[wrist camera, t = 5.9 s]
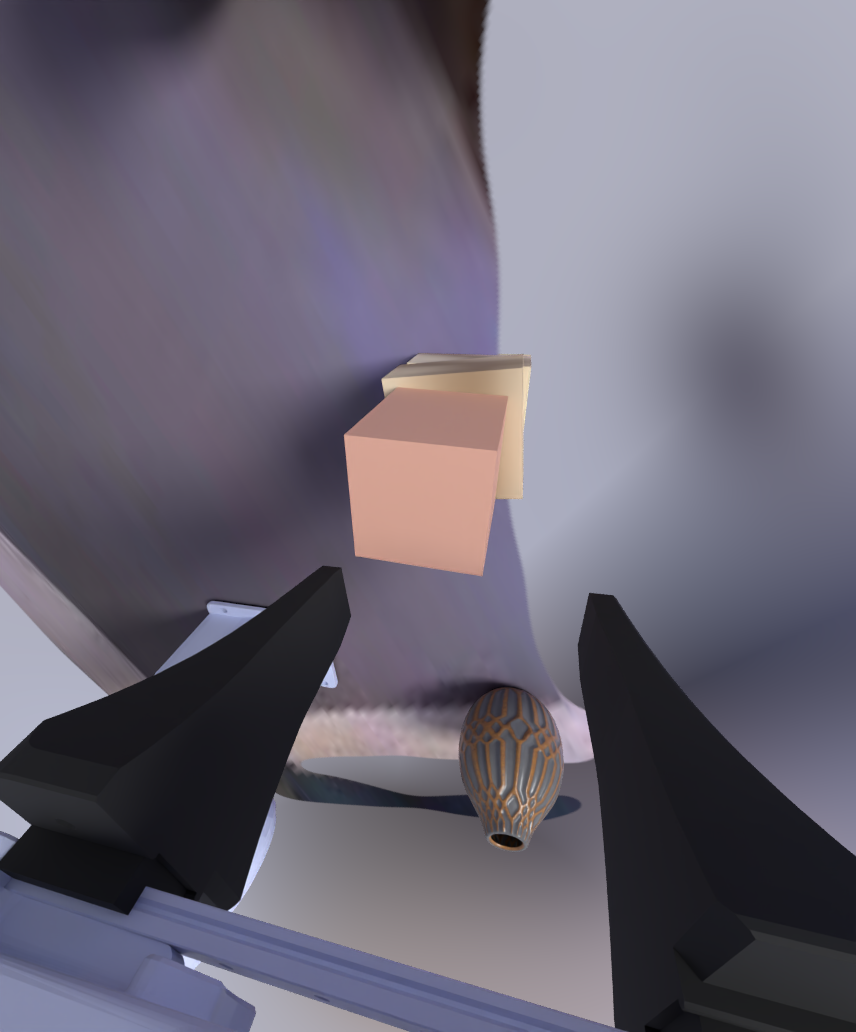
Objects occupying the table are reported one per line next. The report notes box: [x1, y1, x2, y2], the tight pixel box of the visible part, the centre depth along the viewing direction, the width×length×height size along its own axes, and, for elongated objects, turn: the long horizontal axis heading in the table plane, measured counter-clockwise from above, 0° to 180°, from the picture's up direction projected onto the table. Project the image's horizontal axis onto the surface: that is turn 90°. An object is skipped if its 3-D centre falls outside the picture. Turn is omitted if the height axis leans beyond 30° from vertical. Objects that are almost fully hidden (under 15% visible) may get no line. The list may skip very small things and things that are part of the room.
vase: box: [459, 687, 564, 852], centre depth 27 cm, size 7×7×9 cm
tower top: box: [382, 354, 523, 499], centre depth 16 cm, size 5×5×2 cm
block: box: [344, 387, 508, 576], centre depth 13 cm, size 4×4×5 cm
